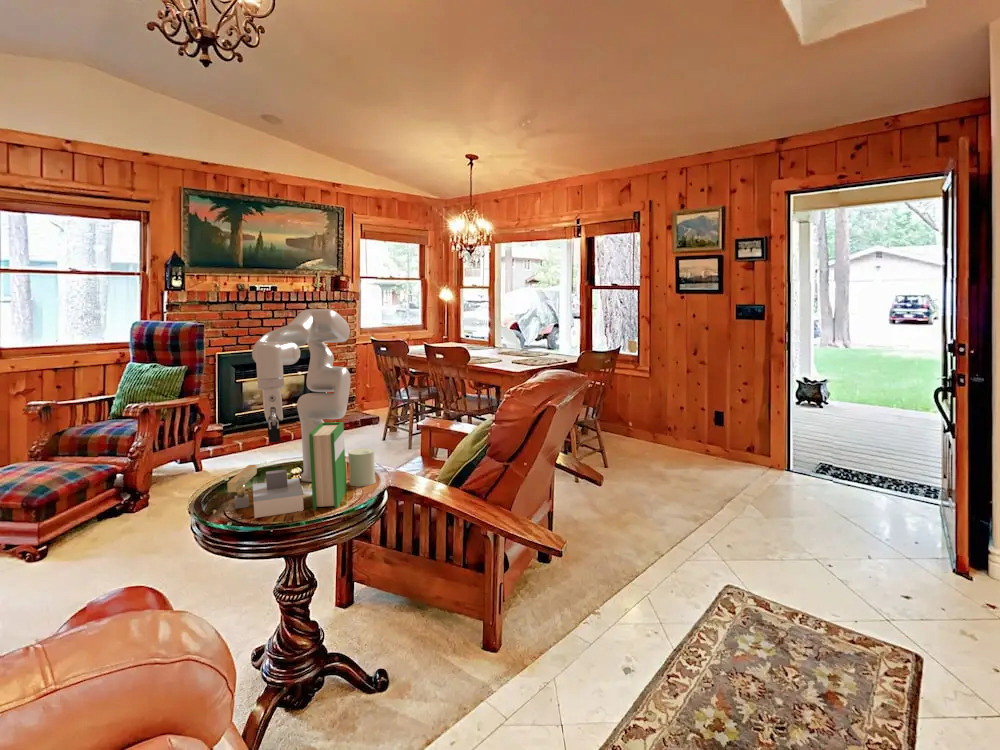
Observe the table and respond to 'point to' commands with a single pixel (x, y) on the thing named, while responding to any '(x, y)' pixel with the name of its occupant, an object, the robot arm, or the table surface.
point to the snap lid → (276, 487)
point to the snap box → (272, 505)
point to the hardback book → (328, 464)
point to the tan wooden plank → (241, 480)
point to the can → (361, 467)
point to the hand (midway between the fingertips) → (274, 438)
